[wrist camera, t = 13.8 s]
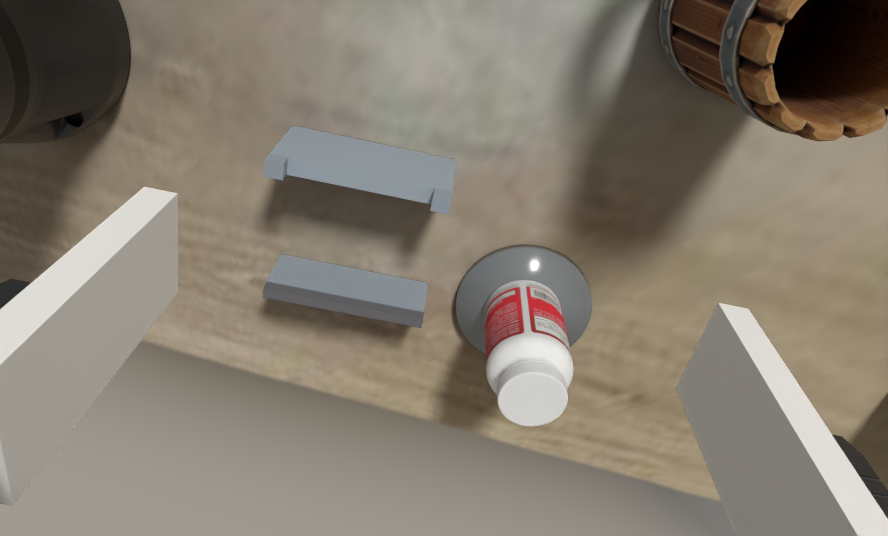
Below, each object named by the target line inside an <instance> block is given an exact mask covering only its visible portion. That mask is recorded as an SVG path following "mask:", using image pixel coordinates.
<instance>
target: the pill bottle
mask: <svg viewBox="0 0 888 536" xmlns="http://www.w3.org/2000/svg"><path fill="white" fill-rule="evenodd" d="M485 352H486V374H487V379H488V382H489V385H490V387H491V388H492V390H493V391H494V392H495V393H496V394H497V400H498V406H499V409H500V411H501V412H502V414H503V415H504V416H505V417H506V418H507V419H508V420H510V421H512V422H514V423H516V424H519V425H523V426H539V425H543V424H546V423H549V422H551V421H553V420H554V419H556V418H557V417H559V416H560V415H561V414H562V412H563V411H564V409H565V408H566V405H567V401H568V395H567V388H568V386H569V385H570V383H571V380H572V376H573V361H572V356H571V352H570V347H569V342H568V338H567V333H566V328H565V323H564V319H563V314H562V310H561V306H560V303H559V300H558V298H557V296H556V295H555V294H554V292H553V291H552V290H551V289H549V288H548V287H547V286H545V285H543V284H541V283H539V282H536V281H531V280H517V281H512V282H509V283H506V284H504V285H502V286H500V287H499V288H498V289H496V290H495V291H494V292H493V293H492V295H491V296H490V298H489V299H488V301H487V304H486V307H485Z"/></svg>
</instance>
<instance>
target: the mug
mask: <svg viewBox="0 0 888 536" xmlns="http://www.w3.org/2000/svg"><path fill="white" fill-rule="evenodd" d="M658 17H659V18H660V19H659V29H658V31H659V36H660V41H661V45H662V47H663V49H664V52H665V54H666V56H667V58H668V60H669V62H670V64H671V66H672V67H673V68H674V69H675V70H676V71H677V72H678V73H679V74H680V75H681V76H682V77H683V79H684V80H686V81H688V82H689V83H691V84H693V85H695V86H697V87H698V88H700V89H702V90H704V91H706V92H707V93H709V94H711V95H715V96H720V97H723V98H725V99H727V100H728V101H730V102H732V103H734V104H736V105H738V106H739V107H740V108H741V109H742V110H743V111H744V112H745V113H747V114H748V115H750V116H752V117H754V118H756V119H757V120H759V121H761V122H763V123H765V124H766V125H768V126H770V127H772V128H774V129H776V130H778V131H781V132H786V133H790V134H795V135H799V136H801V137H803V138H806V139H810V140H815V141H833V140H836V139H838V138H840V137H841V136H842V134H843V135H845V136H847V137H849V138H852V137H858V136H863V135H866V134H869V133H872V132H874V131H876V130H879V129H881V128H882V127H883V126H884V124H885V123H886V122H887V115H888V0H660V3H659V11H658Z"/></svg>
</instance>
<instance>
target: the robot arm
mask: <svg viewBox="0 0 888 536" xmlns="http://www.w3.org/2000/svg"><path fill="white" fill-rule="evenodd" d="M129 67H130V40H129V34H128V29H127V24H126V20H125V17H124V14H123V11H122V8H121V5H120V3H119V1H118V0H0V143H38V142H49V141H55V140H59V139H63V138H66V137H69V136H71V135H74V134H76V133H78V132H80V131H82V130H84V129H85V128H87V127H89V126H91V125H92V124H94V123H96V122H97V121H99V120H100V119H101V118H103V117H104V116H105V115H106V114H107V113H108V112H109V111H110V110H111V109H112V108H113V107H114V105H115V104H116V103H117V101H118V100H119V98H120V96H121V94H122V92H123V90H124V87H125V84H126V81H127V77H128V73H129ZM177 293H178V193H173V192H168V191H163V190H158V189H153V188H148V187H144V188H142V189H141V190H140V191H139V192H138V193H137V194H135V195H134V196H133V197H132V198H131V199H129V200H128V201H127V202H126V203H125V204H124V205H122V206H121V207H120V208H119V209H118V210H117V211H115V212H114V213H113V214H112V215H111V216H109V217H108V218H107V219H106V220H105V221H104V222H102V223H101V224H100V225H99V226H98V227H97V228H95V229H94V230H93V231H92V232H91V233H89V234H88V235H87V236H86V237H85V238H84V239H82V240H81V241H80V242H79V243H78V244H77V245H75V246H74V247H73V248H72V249H71V250H69V251H68V252H67V253H66V254H65V255H64V256H62V257H61V258H60V259H59V260H58V261H57V262H55V263H54V264H53V265H52V266H51V267H49V268H48V269H47V270H46V271H45V272H44V273H42V274H41V275H40V276H39V277H38V278H36V279H35V280H34V281H33V282H32V283H29V282H24V281H19V280H14V279H10V280H8V281H5V282H3V283H0V504H6V505H12V506H13V505H14V504H15V503H16V502H17V500H18V499H19V498H20V496H21V495H22V494H23V493H24V491H25V490H26V489H27V487H28V486H29V485H30V484H31V482H32V481H33V479H34V478H35V477H36V476H37V474H38V473H39V472H40V471H41V469H42V468H43V467H44V465H45V464H46V463H47V461H48V460H49V459H50V458H51V456H52V455H53V454H54V452H55V451H56V450H57V449H58V447H59V446H60V445H61V443H62V442H63V441H64V439H65V438H66V437H67V435H68V434H69V433H70V431H71V430H72V429H73V428H74V426H75V425H76V424H77V423H78V421H79V420H80V419H81V417H82V416H83V415H84V413H85V412H86V411H87V410H88V408H89V407H90V406H91V404H92V403H93V402H94V401H95V399H96V398H97V397H98V395H99V394H100V393H101V391H102V390H103V389H104V388H105V386H106V385H107V384H108V382H109V381H110V380H111V379H112V377H113V376H114V374H115V373H116V372H117V371H118V369H119V368H120V367H121V366H122V364H123V363H124V362H125V360H126V359H127V358H128V356H129V355H130V354H131V353H132V351H133V350H134V349H135V347H136V346H137V345H138V344H139V342H140V341H141V340H142V338H143V337H144V336H145V335H146V333H147V332H148V331H149V329H150V328H151V327H152V325H153V324H154V323H155V322H156V320H157V319H158V318H159V316H160V315H161V314H162V312H163V311H164V310H165V309H166V307H167V306H168V305H169V303H170V302H171V301H172V300H173V298H174V297H175V296H176V294H177ZM676 390H677V393H678V395H679V398H680V400H681V403H682V405H683V407H684V410H685V412H686V415H687V417H688V420H689V422H690V425H691V427H692V430H693V432H694V435H695V437H696V439H697V442H698V444H699V447H700V449H701V452H702V454H703V457H704V459H705V462H706V464H707V467H708V469H709V471H710V474H711V476H712V479H713V481H714V484H715V486H716V489H717V491H718V494H719V496H720V499H721V501H722V503H723V506H724V508H725V511H726V513H727V516H728V518H729V521H730V523H731V526H732V528H733V531H734V533H735V535H736V536H888V490H887V489H886V488H885V486H884V485H883V483H881V482H879V478H878V476H877V475H876V473H875V472H874V470H873V469H872V467H871V466H870V465H869V463H868V462H867V460H866V459H865V457H864V456H863V455H861V454H860V453H859V452H858V451H857V450H856V449H855V448H854V447H853V446H852V445H851V444H849V443H848V442H847V441H846V440H845V439H844V438H843V437H842V436H836V435H832V434H831V433H830V431H829V430H828V428H827V427H826V425H825V424H824V422H823V421H822V419H821V418H820V416H819V415H818V413H817V412H816V410H815V409H814V407H813V406H812V404H811V403H810V401H809V400H808V398H807V397H806V395H805V394H804V392H803V391H802V389H801V388H800V386H799V385H798V383H797V382H796V380H795V379H794V377H793V376H792V374H791V373H790V371H789V369H788V368H787V366H786V365H785V363H784V362H783V360H782V359H781V357H780V356H779V354H778V353H777V351H776V350H775V348H774V347H773V345H772V344H771V342H770V341H769V339H768V338H767V336H766V335H765V333H764V332H763V330H762V329H761V327H760V326H759V324H758V323H757V321H756V320H755V318H754V317H753V315H752V314H751V312H750V311H749V309H746V308H741V307H737V306H732V305H727V304H722V303H718V304H717V306H716V308H715V310H714V313H713V315H712V317H711V319H710V321H709V323H708V325H707V327H706V329H705V331H704V333H703V335H702V337H701V339H700V341H699V343H698V345H697V347H696V349H695V351H694V353H693V355H692V357H691V359H690V361H689V363H688V365H687V367H686V369H685V371H684V373H683V375H682V377H681V379H680V381H679V383H678V385H677V387H676Z"/></svg>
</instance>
